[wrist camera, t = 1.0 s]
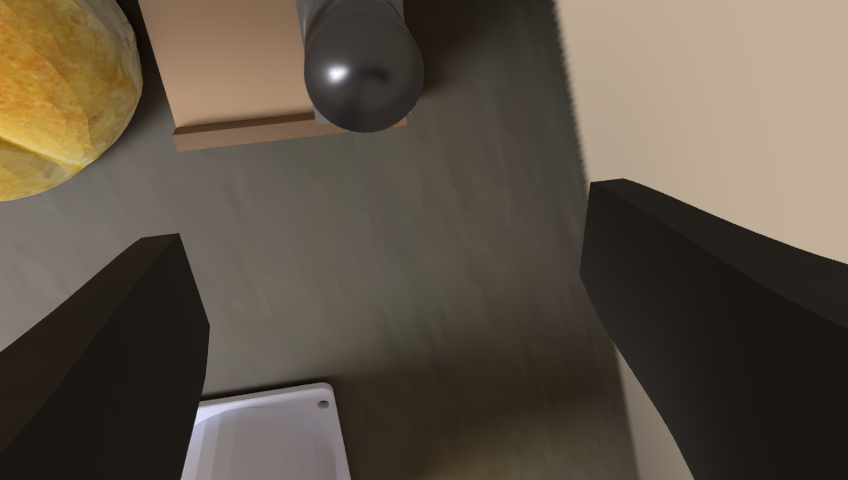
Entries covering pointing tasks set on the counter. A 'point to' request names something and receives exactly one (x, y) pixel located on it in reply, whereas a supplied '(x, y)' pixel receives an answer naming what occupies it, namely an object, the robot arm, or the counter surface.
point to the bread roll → (62, 89)
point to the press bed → (232, 71)
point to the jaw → (359, 62)
